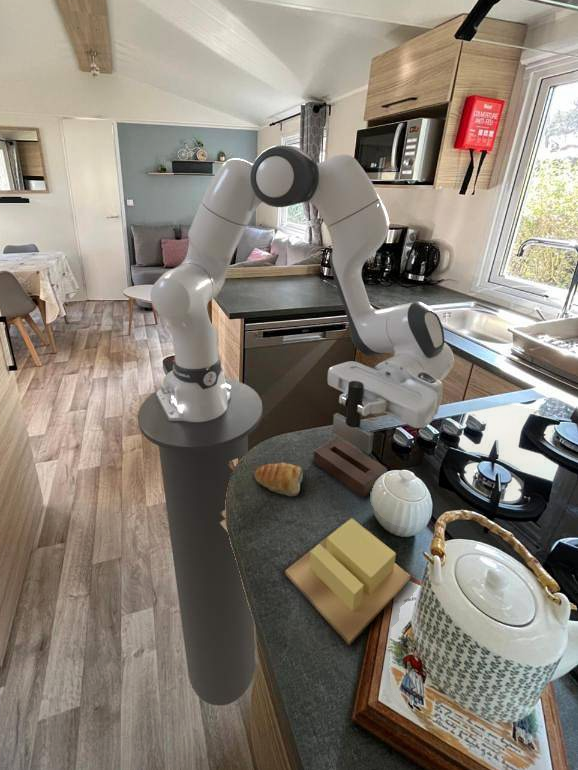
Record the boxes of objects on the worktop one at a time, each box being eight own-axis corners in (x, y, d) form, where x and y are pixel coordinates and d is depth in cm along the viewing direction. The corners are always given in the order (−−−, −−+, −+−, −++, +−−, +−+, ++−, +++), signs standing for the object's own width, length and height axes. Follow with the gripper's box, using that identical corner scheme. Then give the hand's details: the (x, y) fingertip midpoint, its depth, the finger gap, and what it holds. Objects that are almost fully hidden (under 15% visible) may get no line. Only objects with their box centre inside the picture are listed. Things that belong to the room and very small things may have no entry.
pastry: (250, 490, 73) (250, 474, 72) (258, 466, 80) (258, 451, 78) (299, 499, 71) (299, 483, 70) (303, 474, 77) (304, 459, 76)
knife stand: (313, 462, 80) (314, 450, 79) (336, 448, 84) (336, 436, 83) (362, 498, 71) (364, 485, 70) (385, 480, 75) (387, 468, 74)
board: (284, 574, 58) (285, 570, 57) (344, 525, 65) (345, 522, 65) (349, 645, 49) (349, 641, 48) (409, 579, 56) (410, 575, 56)
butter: (325, 554, 60) (326, 537, 58) (350, 533, 63) (351, 517, 62) (369, 595, 54) (371, 577, 52) (393, 570, 57) (396, 553, 56)
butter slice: (309, 567, 58) (310, 551, 56) (318, 560, 59) (319, 543, 57) (352, 612, 52) (354, 594, 50) (362, 602, 53) (364, 585, 51)
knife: (329, 434, 72) (333, 377, 68) (338, 428, 73) (342, 373, 69) (365, 456, 66) (371, 396, 62) (374, 450, 67) (380, 391, 63)
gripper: (353, 349, 80) (308, 368, 73) (452, 386, 65) (407, 416, 57) (351, 375, 83) (307, 397, 75) (446, 417, 67) (402, 450, 60)
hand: (351, 406), depth 66 cm, fingers closed on knife, 2 cm apart
